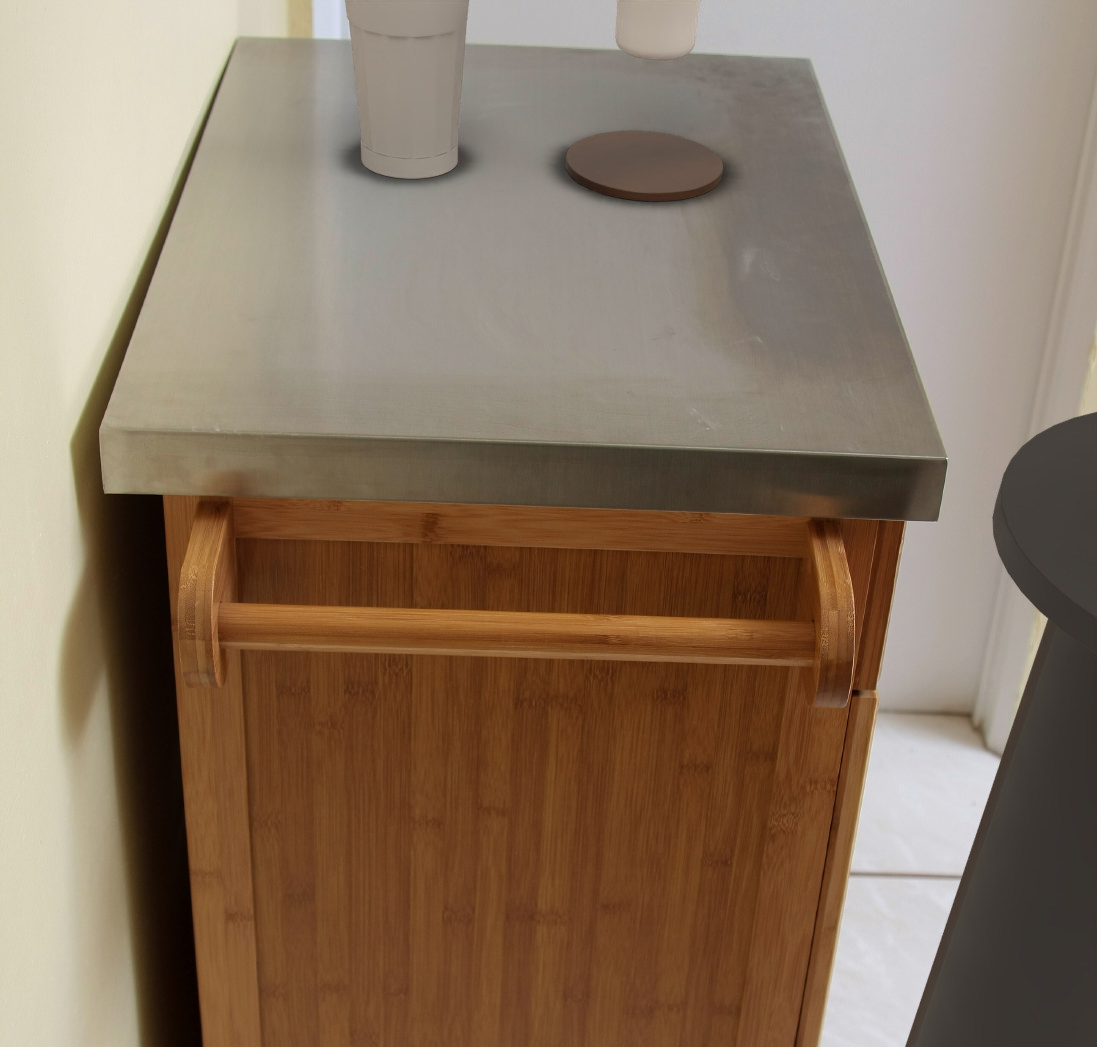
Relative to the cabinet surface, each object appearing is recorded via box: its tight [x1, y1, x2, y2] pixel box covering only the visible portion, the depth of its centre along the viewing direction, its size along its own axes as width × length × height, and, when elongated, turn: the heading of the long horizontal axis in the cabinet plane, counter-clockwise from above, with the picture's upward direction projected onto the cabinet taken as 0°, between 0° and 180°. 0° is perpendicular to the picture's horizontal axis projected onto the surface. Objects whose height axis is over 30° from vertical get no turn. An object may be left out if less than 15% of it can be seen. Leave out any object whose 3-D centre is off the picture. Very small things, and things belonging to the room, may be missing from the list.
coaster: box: [565, 130, 724, 202], centre depth 108 cm, size 11×11×1 cm
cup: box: [344, 0, 470, 180], centre depth 103 cm, size 8×8×13 cm
